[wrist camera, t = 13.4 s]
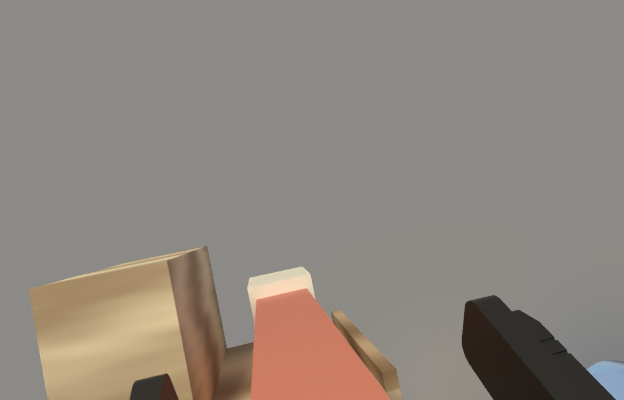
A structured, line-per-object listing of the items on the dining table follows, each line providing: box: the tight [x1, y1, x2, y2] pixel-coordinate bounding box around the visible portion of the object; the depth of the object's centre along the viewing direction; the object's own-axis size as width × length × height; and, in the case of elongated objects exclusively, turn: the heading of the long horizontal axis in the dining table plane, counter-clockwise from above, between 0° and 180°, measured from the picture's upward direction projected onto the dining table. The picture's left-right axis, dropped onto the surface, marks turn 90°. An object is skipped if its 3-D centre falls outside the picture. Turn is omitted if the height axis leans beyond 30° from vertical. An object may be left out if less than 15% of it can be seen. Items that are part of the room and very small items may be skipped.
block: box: [247, 267, 391, 400], centre depth 19 cm, size 23×4×4 cm, turn 8°
